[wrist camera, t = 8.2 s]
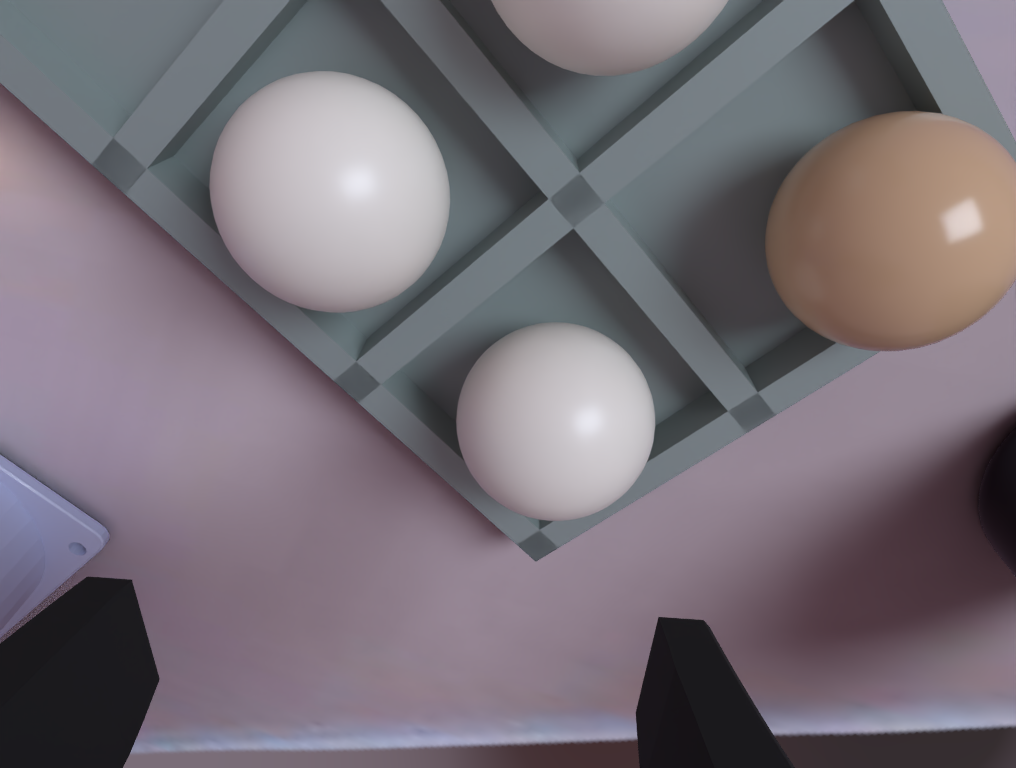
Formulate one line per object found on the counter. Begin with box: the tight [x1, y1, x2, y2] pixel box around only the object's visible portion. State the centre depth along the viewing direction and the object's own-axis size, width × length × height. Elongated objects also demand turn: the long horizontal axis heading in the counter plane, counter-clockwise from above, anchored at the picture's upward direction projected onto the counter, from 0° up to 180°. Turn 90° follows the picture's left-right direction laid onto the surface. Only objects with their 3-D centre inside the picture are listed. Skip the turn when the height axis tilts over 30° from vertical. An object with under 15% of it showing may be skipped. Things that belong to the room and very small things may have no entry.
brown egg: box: [765, 111, 1016, 351], centre depth 13 cm, size 4×4×4 cm
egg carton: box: [0, 0, 1016, 561], centre depth 12 cm, size 14×21×5 cm
